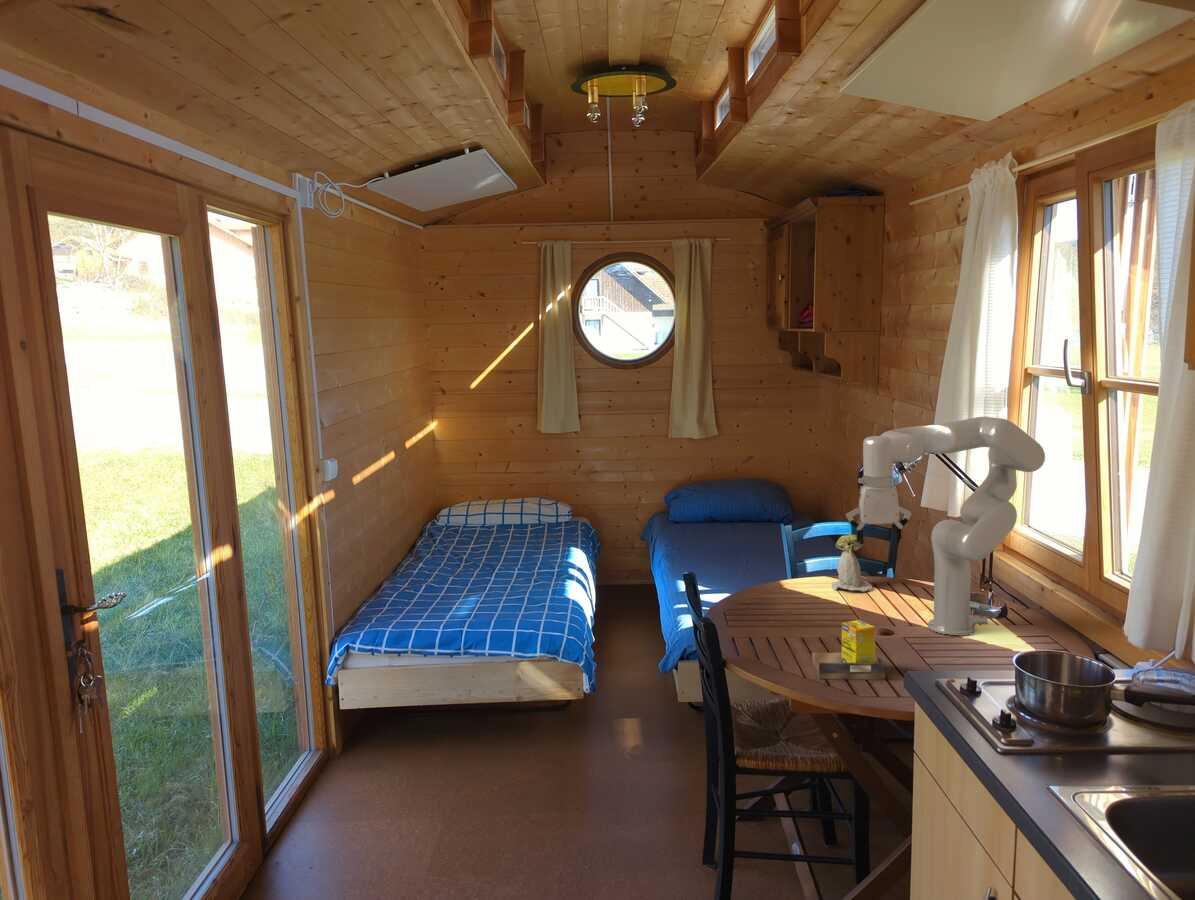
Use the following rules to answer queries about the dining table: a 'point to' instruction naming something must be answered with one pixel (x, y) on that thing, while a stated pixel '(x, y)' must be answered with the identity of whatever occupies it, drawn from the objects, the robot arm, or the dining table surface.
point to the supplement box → (858, 642)
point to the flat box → (846, 668)
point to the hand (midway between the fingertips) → (878, 542)
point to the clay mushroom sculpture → (849, 565)
